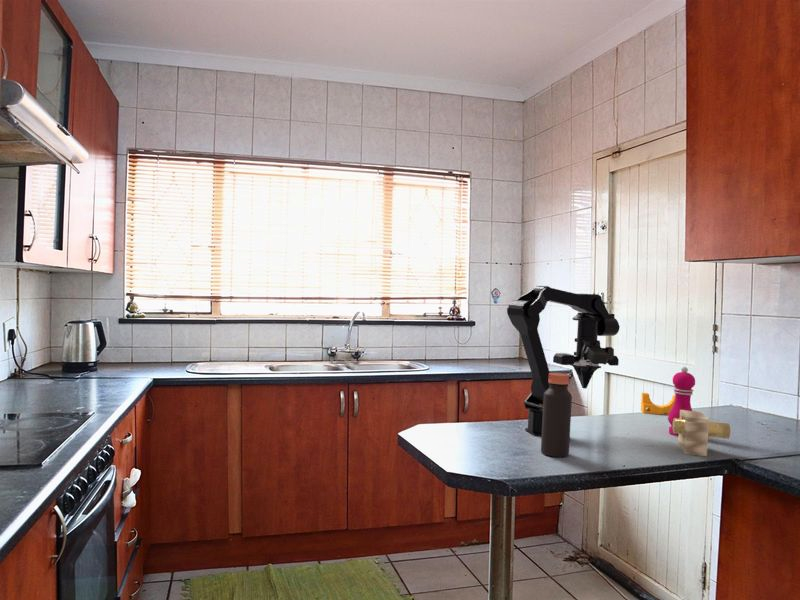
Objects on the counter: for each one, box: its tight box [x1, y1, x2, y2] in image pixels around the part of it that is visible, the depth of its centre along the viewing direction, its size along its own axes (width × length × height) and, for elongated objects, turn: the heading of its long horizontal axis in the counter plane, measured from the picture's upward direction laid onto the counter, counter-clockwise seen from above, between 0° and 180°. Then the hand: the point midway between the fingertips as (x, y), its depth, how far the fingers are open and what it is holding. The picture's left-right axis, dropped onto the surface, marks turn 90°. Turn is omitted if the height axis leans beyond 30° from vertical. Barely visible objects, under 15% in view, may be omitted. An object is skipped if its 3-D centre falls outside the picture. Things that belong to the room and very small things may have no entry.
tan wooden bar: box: [673, 418, 731, 440], centre depth 152 cm, size 13×4×4 cm, turn 74°
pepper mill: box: [667, 366, 696, 437], centre depth 169 cm, size 7×7×20 cm
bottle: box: [540, 372, 573, 458], centre depth 143 cm, size 7×7×20 cm
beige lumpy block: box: [677, 410, 710, 457], centre depth 153 cm, size 5×10×10 cm, turn 164°
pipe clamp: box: [640, 392, 675, 416], centre depth 198 cm, size 12×4×6 cm, turn 78°
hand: (584, 388), depth 171 cm, fingers closed
